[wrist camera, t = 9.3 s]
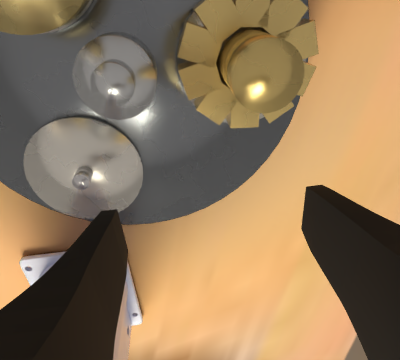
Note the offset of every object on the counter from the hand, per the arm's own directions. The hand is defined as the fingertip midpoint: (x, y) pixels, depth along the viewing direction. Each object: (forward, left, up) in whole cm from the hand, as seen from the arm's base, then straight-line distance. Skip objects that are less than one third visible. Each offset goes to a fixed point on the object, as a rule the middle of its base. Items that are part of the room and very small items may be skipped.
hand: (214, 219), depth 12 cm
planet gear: (+4, -3, -8) cm, 10 cm away
